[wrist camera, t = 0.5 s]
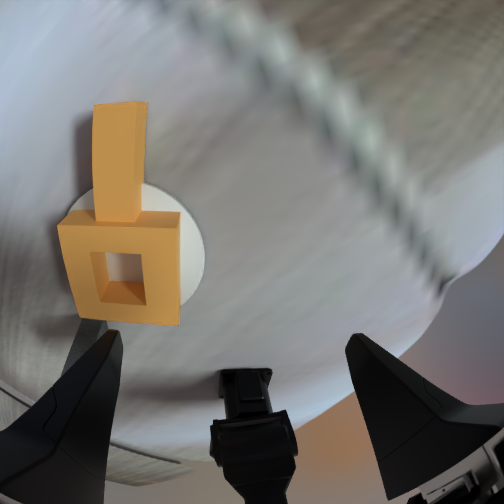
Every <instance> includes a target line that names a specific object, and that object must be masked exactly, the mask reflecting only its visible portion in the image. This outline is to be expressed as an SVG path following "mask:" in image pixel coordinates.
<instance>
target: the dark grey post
mask: <svg viewBox="0 0 504 504" xmlns="http://www.w3.org/2000/svg"><path fill="white" fill-rule="evenodd" d="M107 330H108V326H107V323H106V320H97V319H88V318H83V319H82V322H81V324H80V326H79V329H78V331H77V334H76V336H75V339H74V341H73V344H72V346H71V349H70V352H69V354H68V357H67V360H66V363H65V365H64V368H63V371H62V374H61V376H62V375H63V374H64V373H65V372H66V371H67V370H68V369H69V368H70V367H71V366H72V365H73V364H74V363H75V362H76V361H77V360H78V359H79V358H80V357H81V356H82V355H83V354H84V353H85V352H86V351H87V350H88V349H89V348H90V347H91V346H92V345H93V344H94V343H95V342H96V341H97V340H98V339H99V338H100V337H101V336H102V335H103V334H104V333H105V332H106V331H107Z"/></svg>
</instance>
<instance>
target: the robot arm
mask: <svg viewBox="0 0 504 504" xmlns="http://www.w3.org/2000/svg"><path fill="white" fill-rule="evenodd" d="M345 354H346V358H347V362H348V366H349V371H350V375H351V379H352V383H353V386H354V389H355V392H356V395H357V398H358V401H359V404H360V407H361V410H362V413H363V416H364V420H365V423H366V426H367V429H368V432H369V435H370V439H371V442H372V445H373V448H374V452H375V455H376V459H377V462H378V466H379V470H380V473H381V477H382V481H383V485H384V488H385V492H386V496H387V499H388V500H391V499H394V498H396V497H398V496H400V495H403V494H405V493H407V492H409V491H411V490H413V489H415V488H417V487H419V490H420V493H418V494H416V495H415V496H413V497H411V498H409V500H408V502H407V504H504V403H499V404H489V405H468V404H466V403H463V402H461V401H460V400H458V399H456V398H455V397H453V396H451V395H450V394H448V393H446V392H445V391H443V390H441V389H440V388H438V387H437V386H435V385H434V384H432V383H431V382H429V381H428V380H426V379H425V378H424V377H422V376H421V375H419V374H418V373H417V372H415V371H414V370H413V369H411V368H410V367H408V366H407V365H406V364H404V363H403V362H401V361H400V360H399V359H397V358H396V357H395V356H393V355H392V354H390V353H389V352H388V351H386V350H385V349H383V348H382V347H381V346H379V345H378V344H377V343H375V342H374V341H372V340H371V339H370V338H368V337H367V336H365V335H364V334H363V333H355V334H353V335H352V336H351V338H350V340H349V341H348V343H347V345H346V348H345ZM122 357H123V344H122V339H121V335H120V332H119V331H118V330H113V329H108V330H107V331H106V332H105V333H104V334H103V335H102V336H101V337H100V338H99V339H98V340H97V341H96V342H95V343H94V344H93V345H92V346H91V347H90V348H89V349H88V350H87V351H86V352H85V353H84V354H83V355H82V356H81V357H80V358H79V359H78V360H77V361H76V362H75V363H74V364H73V365H72V366H71V367H70V368H69V369H68V370H67V371H66V372H65V373H64V374H63V375H62V376H61V377H60V378H59V379H58V380H57V381H56V382H55V384H54V385H53V386H52V387H51V388H50V389H49V390H48V391H47V392H46V393H45V394H44V395H43V396H42V397H41V398H40V399H39V400H38V401H37V402H36V403H35V404H34V405H33V406H32V407H31V408H29V409H28V410H27V411H26V412H25V413H24V414H23V415H21V416H20V417H19V418H18V419H17V420H16V421H14V422H13V423H12V424H11V425H10V426H9V427H7V428H6V429H4V430H2V431H0V504H103V503H104V487H105V483H104V482H105V475H106V466H107V457H108V450H109V443H110V436H111V429H112V423H113V418H114V412H115V407H116V402H117V397H118V392H119V385H120V375H121V365H122ZM272 373H273V372H272V369H254V370H223V371H221V372H220V383H219V398H224V404H225V413H226V419H223V420H218V419H215V420H213V425H211V426H210V431H211V442H210V456H211V457H213V458H214V459H215V461H216V463H217V466H218V467H223V473H224V477H225V479H226V480H227V481H228V482H229V483H230V484H231V486H232V487H233V488H234V489H235V490H236V491H237V492H238V493H239V494H240V495H241V496H242V497H243V498H244V500H245V504H288V503H287V499H286V494H285V493H286V490H287V488H288V486H289V483H290V481H291V479H292V476H293V474H294V471H295V469H296V465H295V460H294V457H295V456H297V455H298V448H297V442H296V437H295V434H294V431H293V428H292V425H291V423H290V420H289V417H288V414H287V411H286V410H281V411H279V412H274V413H273V410H272V406H271V402H270V397H269V393H268V389H267V388H268V385H269V382H270V379H271V376H272Z"/></svg>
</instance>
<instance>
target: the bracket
mask: <svg viewBox="0 0 504 504" xmlns="http://www.w3.org/2000/svg"><path fill="white" fill-rule="evenodd" d="M147 107H148V103H145V102H124V103H109V104H98V105H94V108H93V128H92V173H93V188H92V189H91V190H89V191H88V192H86V193H85V194H84V195H83V196H82V197H80V198H79V199H78V200H77V201H76V202H75V204H74V205H73V206H72V207H71V209H70V211H69V212H68V214H67V216H66V217H65V218H64V219H63V220H62V221H61V222H60V223H59V224H58V225H57V228H58V234H59V239H60V245H61V249H62V255H63V259H64V263H65V267H66V271H67V275H68V279H69V283H70V287H71V290H72V294H73V297H74V300H75V304H76V307H77V310H78V313H79V316H80V318H88V319H97V320H107V321H117V322H128V323H141V324H156V325H174V326H179V319H180V307H181V305H183V304H184V303H185V302H186V301H187V300H188V299H189V298H190V297H191V296H192V295H193V294H194V292H195V290H196V289H197V287H198V285H199V283H200V281H201V278H202V275H203V271H204V260H205V257H204V244H203V239H202V236H201V232H200V230H199V227H198V225H197V223H196V221H195V220H194V218H193V217H192V215H191V213H190V212H189V211H188V210H187V209H186V207H185V206H184V205H183V204H182V203H181V202H180V201H179V200H178V199H176V198H175V197H174V196H173V195H171V194H170V193H168V192H167V191H165V190H163V189H161V188H159V187H157V186H155V185H152V184H150V183H147V182H144V155H145V134H146V119H147Z"/></svg>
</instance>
